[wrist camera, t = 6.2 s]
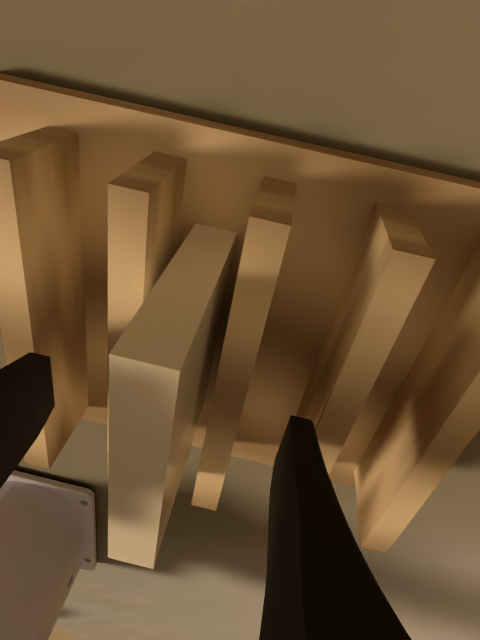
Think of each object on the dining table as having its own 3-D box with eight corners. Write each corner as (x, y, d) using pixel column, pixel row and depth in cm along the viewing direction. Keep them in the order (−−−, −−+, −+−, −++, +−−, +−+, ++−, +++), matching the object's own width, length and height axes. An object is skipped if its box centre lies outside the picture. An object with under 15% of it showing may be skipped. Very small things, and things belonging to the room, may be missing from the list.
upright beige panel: (204, 402, 18) (153, 568, 13) (173, 395, 18) (107, 557, 13) (236, 232, 14) (180, 371, 8) (195, 223, 14) (109, 353, 8)
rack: (410, 482, 21) (430, 578, 17) (36, 390, 21) (-24, 465, 17) (598, 208, 13) (714, 277, 9) (-7, 71, 13) (-134, 83, 9)
